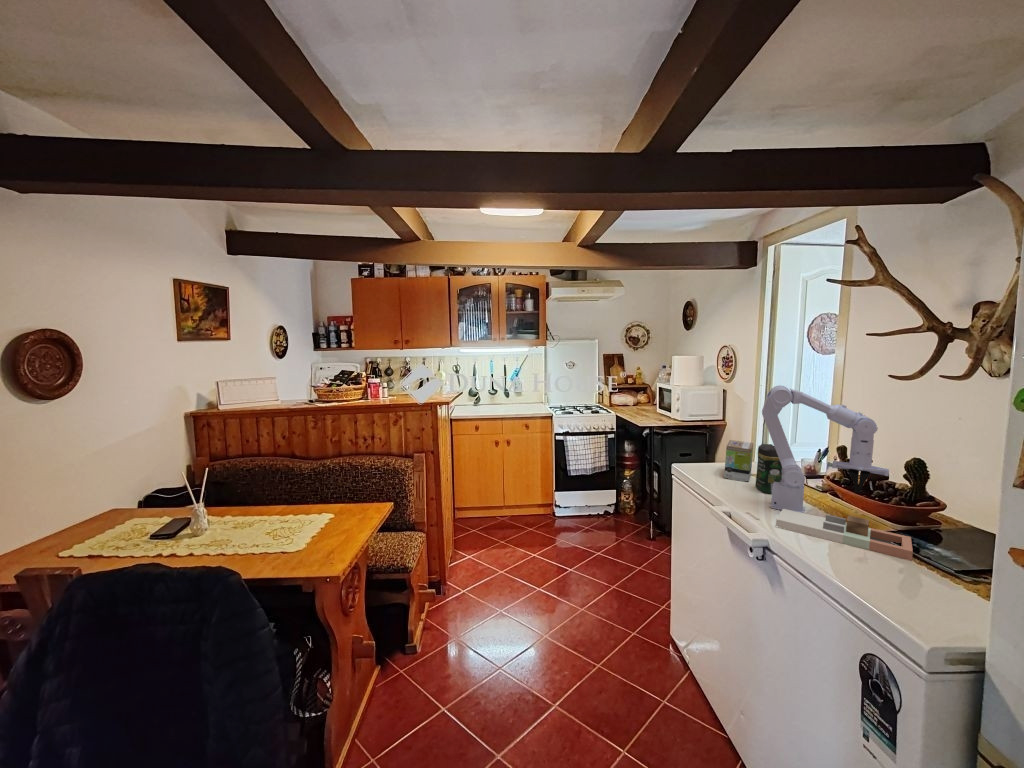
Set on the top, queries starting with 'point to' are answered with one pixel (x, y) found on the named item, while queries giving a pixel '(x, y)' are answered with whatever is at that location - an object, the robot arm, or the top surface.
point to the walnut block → (857, 525)
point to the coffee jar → (768, 468)
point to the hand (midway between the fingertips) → (857, 492)
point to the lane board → (845, 533)
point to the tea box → (738, 460)
